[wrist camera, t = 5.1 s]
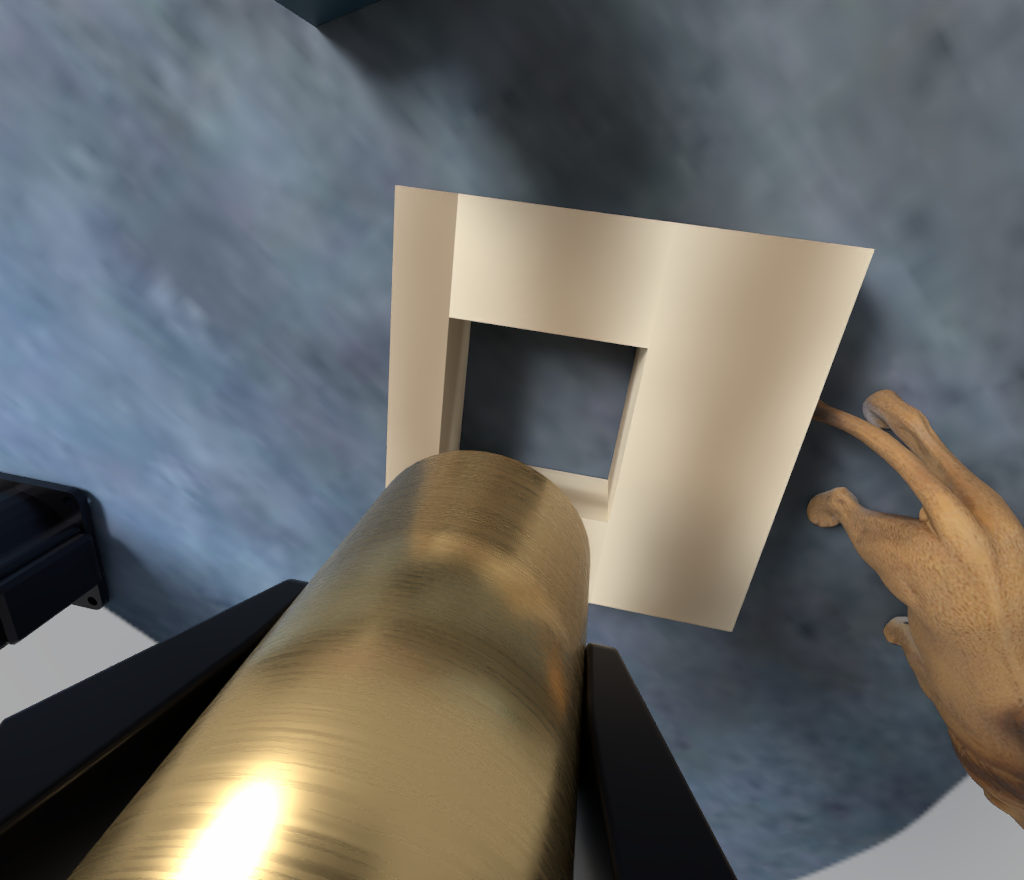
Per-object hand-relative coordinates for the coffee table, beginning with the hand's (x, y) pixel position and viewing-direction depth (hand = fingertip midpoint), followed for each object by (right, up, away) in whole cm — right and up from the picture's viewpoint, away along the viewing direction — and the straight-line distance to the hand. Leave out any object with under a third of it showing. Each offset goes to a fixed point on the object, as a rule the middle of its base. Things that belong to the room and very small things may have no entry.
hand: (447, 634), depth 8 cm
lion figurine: (+15, -1, +11) cm, 19 cm away
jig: (+3, +4, +11) cm, 12 cm away
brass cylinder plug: (0, +1, +2) cm, 2 cm away
